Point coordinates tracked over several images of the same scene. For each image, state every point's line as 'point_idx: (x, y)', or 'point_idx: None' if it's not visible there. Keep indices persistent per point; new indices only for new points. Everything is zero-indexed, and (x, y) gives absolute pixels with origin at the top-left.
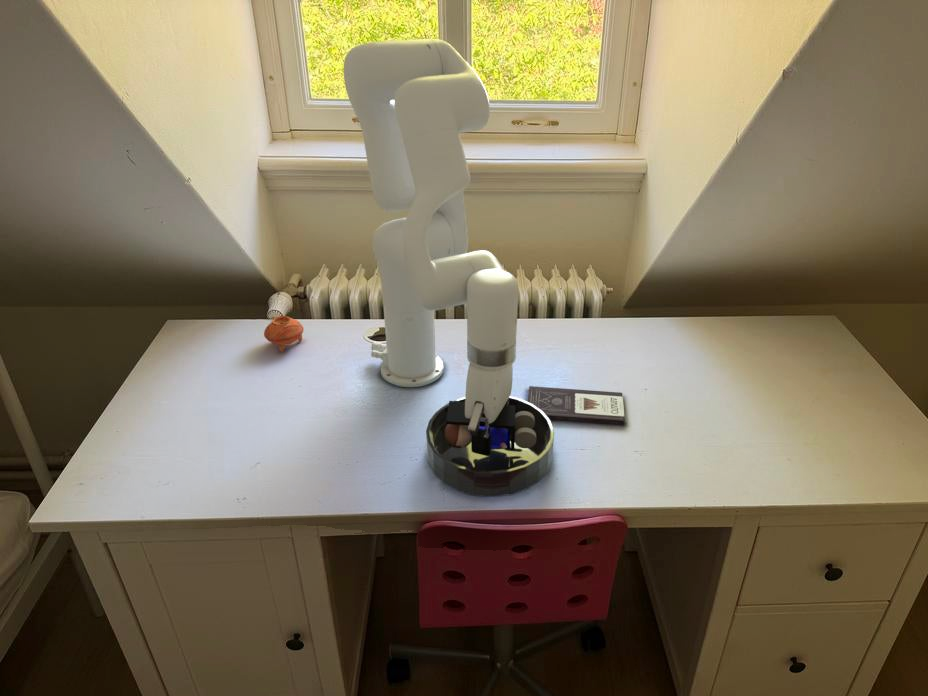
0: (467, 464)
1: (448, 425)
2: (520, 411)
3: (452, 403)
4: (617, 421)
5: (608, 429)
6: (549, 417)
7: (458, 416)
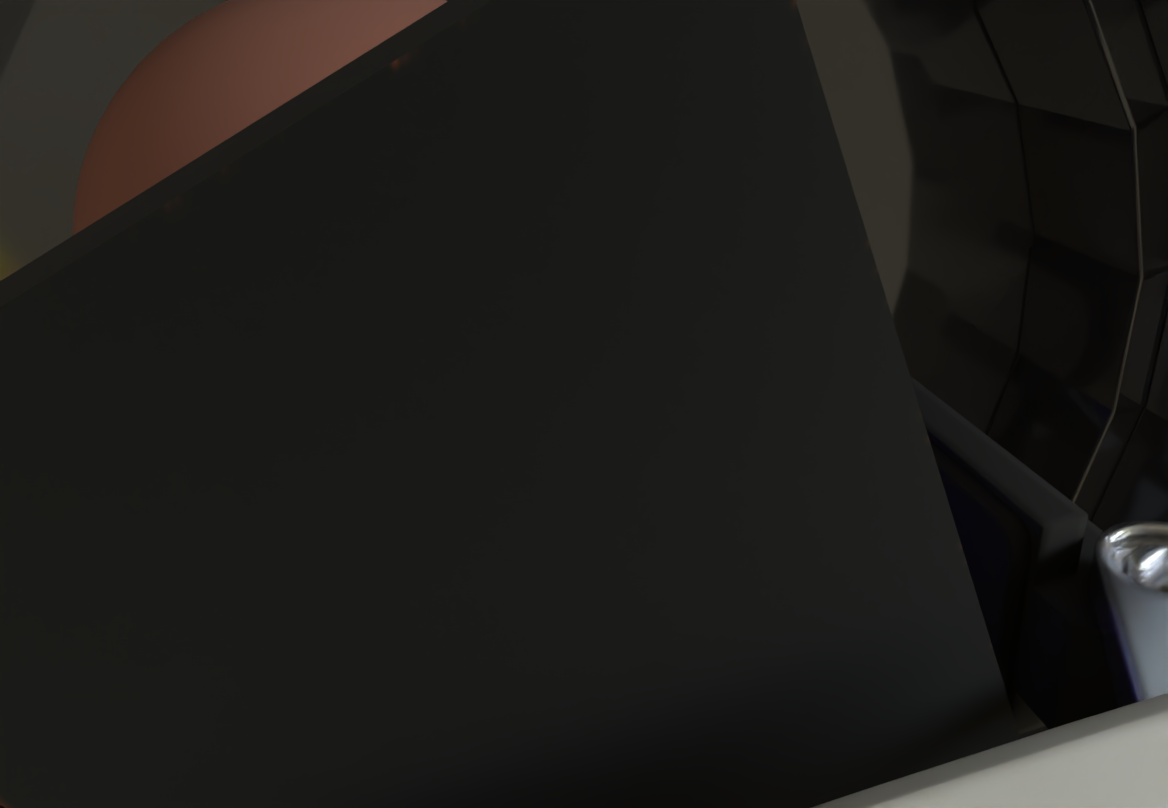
0: None
1: (216, 126)
2: (1133, 450)
3: (647, 72)
4: None
5: None
6: None
7: (176, 631)
